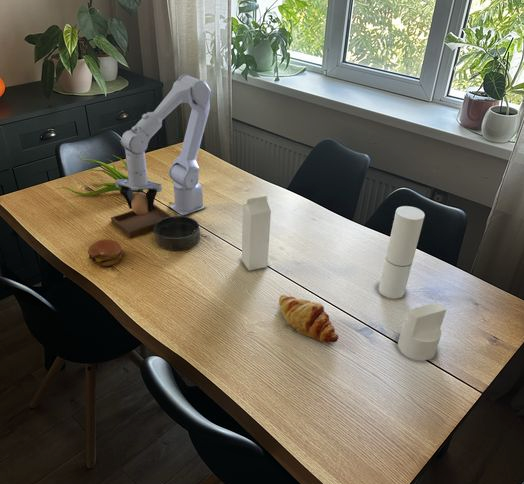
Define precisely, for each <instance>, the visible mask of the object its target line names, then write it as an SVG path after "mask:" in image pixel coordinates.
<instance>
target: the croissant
mask: <svg viewBox="0 0 524 484" xmlns="http://www.w3.org/2000/svg"><path fill="white" fill-rule="evenodd" d="M278 303H279V306H280V311H281V314H282V316H283V318H284V319H285V322H286V323H287V326H288V327H291V328H293V329H294V330H295V331H296V332H297V333H299V334H301V335H303V336H306V337H310V338H312V339H315V340H318V341H320V342H323V343H336V342H338V339H339V335H338V334H337V333H336V330H335V326H334V325H333V323H332V322H331V321H330V315H329V314H328V313H327V312H326V311H325V306H324V305H323V304H321V302H314V301H310V300H307V299H303V298H299V299H298V298H297V297H294V296H287V295H284V294H282V295H280V297H279V299H278Z"/></svg>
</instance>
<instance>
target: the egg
mask: <svg viewBox="0 0 524 484" xmlns="http://www.w3.org/2000/svg"><path fill="white" fill-rule="evenodd" d="M131 206H132V209H131V211H134V212H135V213H136V214H137V215H140V216H143V215H145V214H147V213H148V211H149V209H148V201H147V197H146V193H144V192H142V193H141V192H139V193H137V192H135V193H134V194H133V198H132V202H131Z"/></svg>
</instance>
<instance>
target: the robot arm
mask: <svg viewBox="0 0 524 484" xmlns="http://www.w3.org/2000/svg"><path fill="white" fill-rule="evenodd" d="M211 94H212V90H211V88H210V86H209V84H208V83H207V82H206V81H204V80H201V79H198V78H195V77H193V76H191V75H189V74H182V75H180V76H179V77H178V78H177V80H176V81H174V82H173V85H172V88H171V90H170V91H169V92H168V93H167V95H166V96H165V97H164V98H163V100H162V101H161V102H160V103H159V105H157V107H156V108H155V110H154V111H147V112H146V113H143V114H142V115H141V119H140V120H139V121H137V123H136V124H134V125H133V126H132V127H131V129H129V130H126V131H125V132H123V134H122V136H121V139H120V140H119V142H120V144H121V146H122V147H123V148H124V152H125V162H126V163H127V167H126V169H127V170H128V171H127V170H126V171H127V176H128V178H129V179H117V181H116V180H115V182H114V183H116V187H121V190H119V192H120V194H121V195H122V197H123V198H124V199H125V201H126V204H127V206H128V208H129V209H130V210H132V206H131V202H132V198H133V196H134V192H133V190H138V189H143V190H145V191H146V192H145V195H146V197H147V201H148V209H149V211H152V209H153V204H155V198H156V196H157V193H161V192H162V190H163V186H162V183H158V182H154V181H151V180H148V172H147V161H146V151H147V149H148V146H149V142H150V140H151V139H152V137H153V136H155V135H156V133H157V132H158V131H159V130H160V129H161V128H162V127H163V120H164V119H166V117H167V116H168V115H170V114H171V113H172V112H173V111H174V110H175V109H176V108H177V107H178V106H179V105H180V104H189V106H190V108H191V112H190V115H189V118H188V122H187V127H186V130H185V134H184V138H183V142H182V145H181V149H180V154H179V156H177V157H175V158H174V160H173V162H172V165H171V166H170V168H169V169H168V176H169V178H170V179H171V180H172V184H173V196H174V204H172V205H170V206H169V208H171V209H172V210H173V211H175V212H176V213H178V214H179V215H180V216H187V215H189V214H191V213H194V212H197V211H200V210H203V209H205V206H204V195H203V193H204V192H203V186H202V185H201V183H200V182H199V180H200V176H199V172H200V166H199V165H198V164H199V163H198V162H197V158H198V155H199V151H200V147H201V143H202V141H203V136H204V133H205V128H206V124H207V122H208V117H209V113H210V110H211V101H210V97H211Z"/></svg>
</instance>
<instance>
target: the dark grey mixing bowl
mask: <svg viewBox="0 0 524 484" xmlns="http://www.w3.org/2000/svg"><path fill="white" fill-rule="evenodd" d="M170 216H171V217H166V218H163V219H161V220H159V221H157V222H156V224H155V225H154V228H153V230H152V231H153V240H154V242H155V244H156V245H157V246H158V247H160V248H161V249H164V250H169V251H182V250H187V249H190V248H193V247H194V246H196V245H197V244H198V243H199V242H200V240H201V229H200V227H201V226H200V225H201V224H200V223H199V222H198V221H197V220H196V219H195V218H192V217H189V216H186V215H170Z"/></svg>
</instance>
